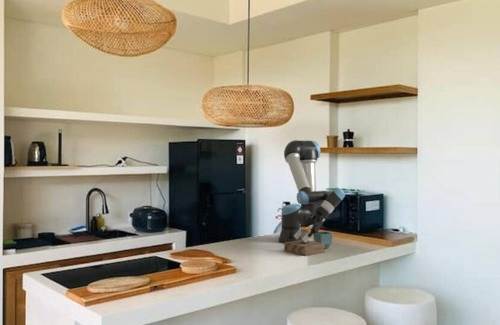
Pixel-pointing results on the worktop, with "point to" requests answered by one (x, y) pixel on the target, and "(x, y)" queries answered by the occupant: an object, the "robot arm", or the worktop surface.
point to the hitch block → (304, 248)
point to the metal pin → (303, 234)
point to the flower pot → (323, 238)
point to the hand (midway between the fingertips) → (299, 239)
